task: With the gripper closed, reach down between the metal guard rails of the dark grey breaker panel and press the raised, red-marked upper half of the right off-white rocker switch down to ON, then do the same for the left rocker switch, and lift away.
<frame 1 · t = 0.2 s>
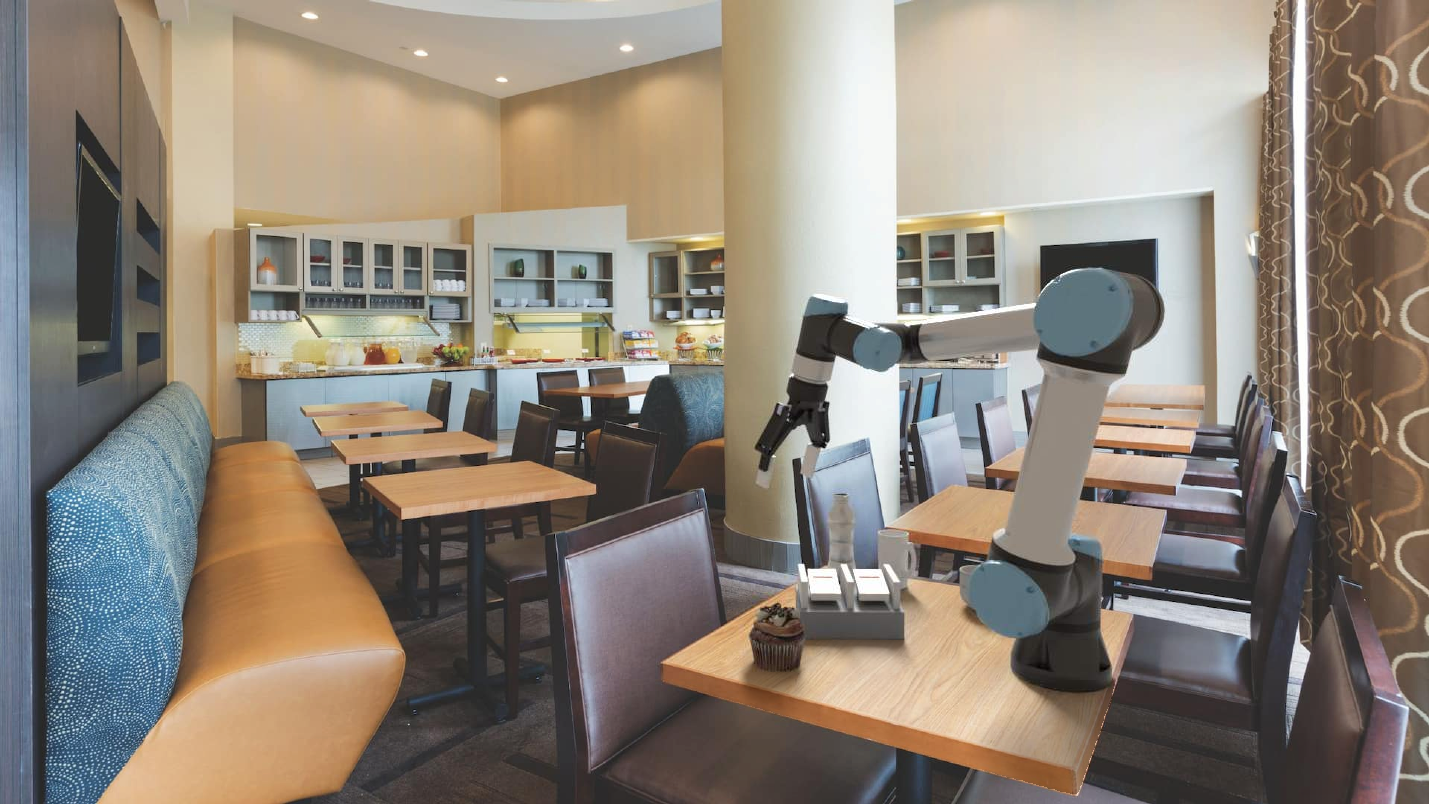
hand: (784, 480, 151), 28 cm above the table, tool tilted 20°, fingers open, 13 cm apart
plastic bottle: (841, 581, 178), on the table
cupcake: (777, 663, 132), on the table
teacup: (991, 611, 156), on the table
mug: (898, 588, 172), on the table
breaker panel: (846, 623, 150), on the table
breaker b: (823, 583, 150), point 8 cm above the table, hinge at -10.0°
breaker a: (870, 584, 149), point 8 cm above the table, hinge at -10.0°
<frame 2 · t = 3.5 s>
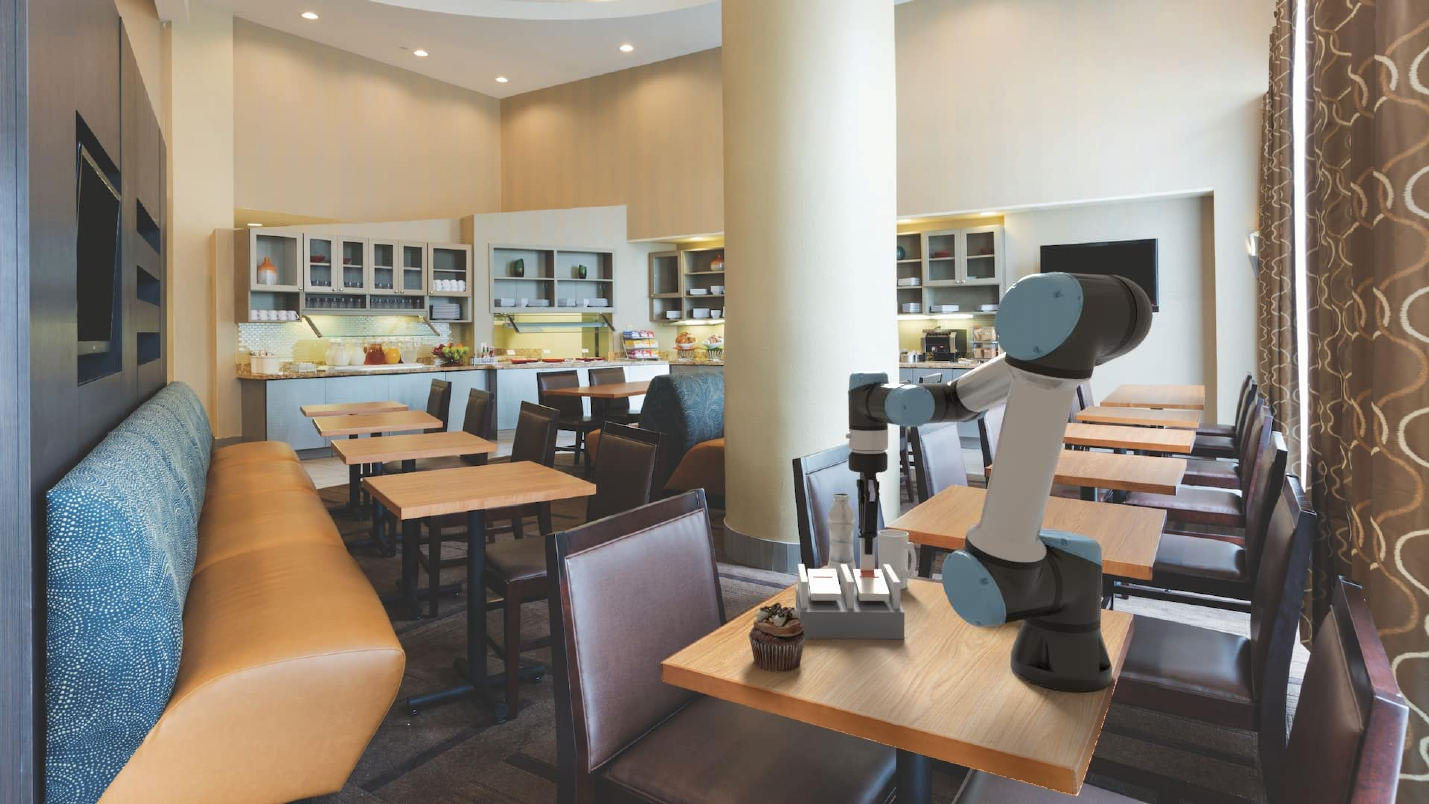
hand: (867, 569, 153), 10 cm above the table, tool pointing down, fingers closed
breaker a: (870, 584, 149), point 8 cm above the table, hinge at -10.0°, touching gripper
everything else where it was.
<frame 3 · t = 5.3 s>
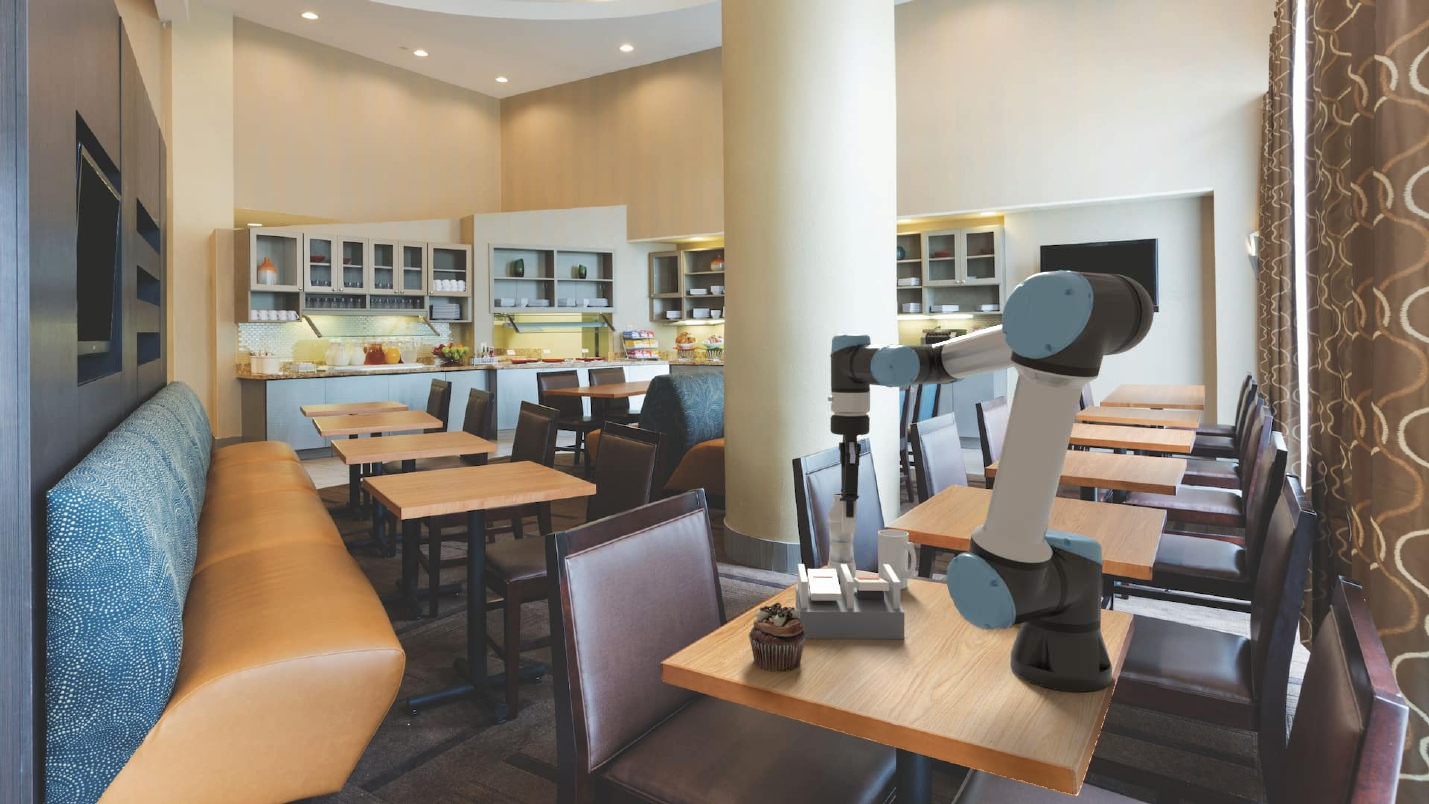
hand: (848, 532, 153), 17 cm above the table, tool pointing down, fingers closed
breaker a: (870, 583, 149), point 8 cm above the table, hinge at 12.1°
everything else where it was.
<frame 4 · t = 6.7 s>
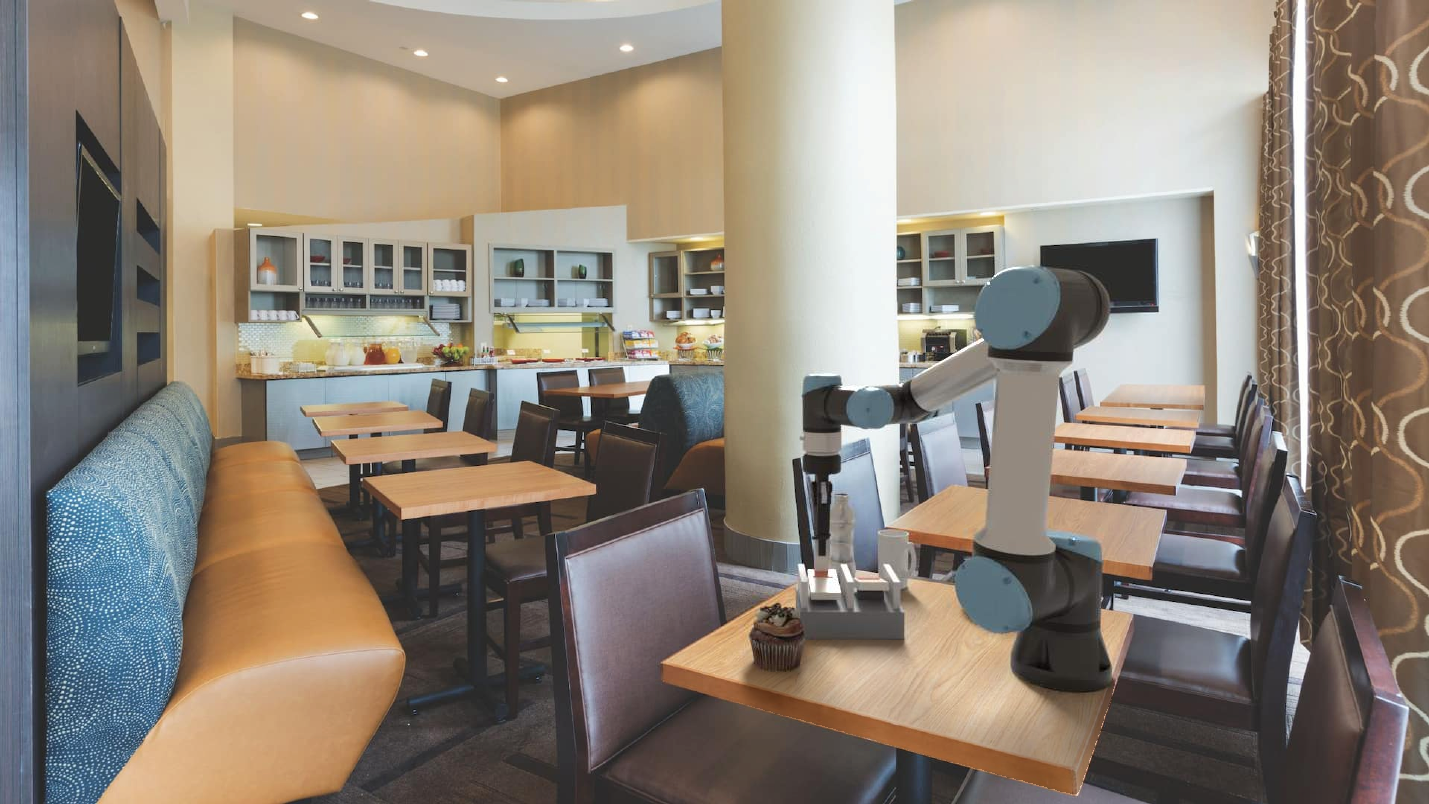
hand: (821, 570, 154), 9 cm above the table, tool pointing down, fingers closed
breaker b: (823, 583, 150), point 8 cm above the table, hinge at -8.4°, touching gripper
breaker a: (870, 583, 149), point 8 cm above the table, hinge at 12.5°
everything else where it was.
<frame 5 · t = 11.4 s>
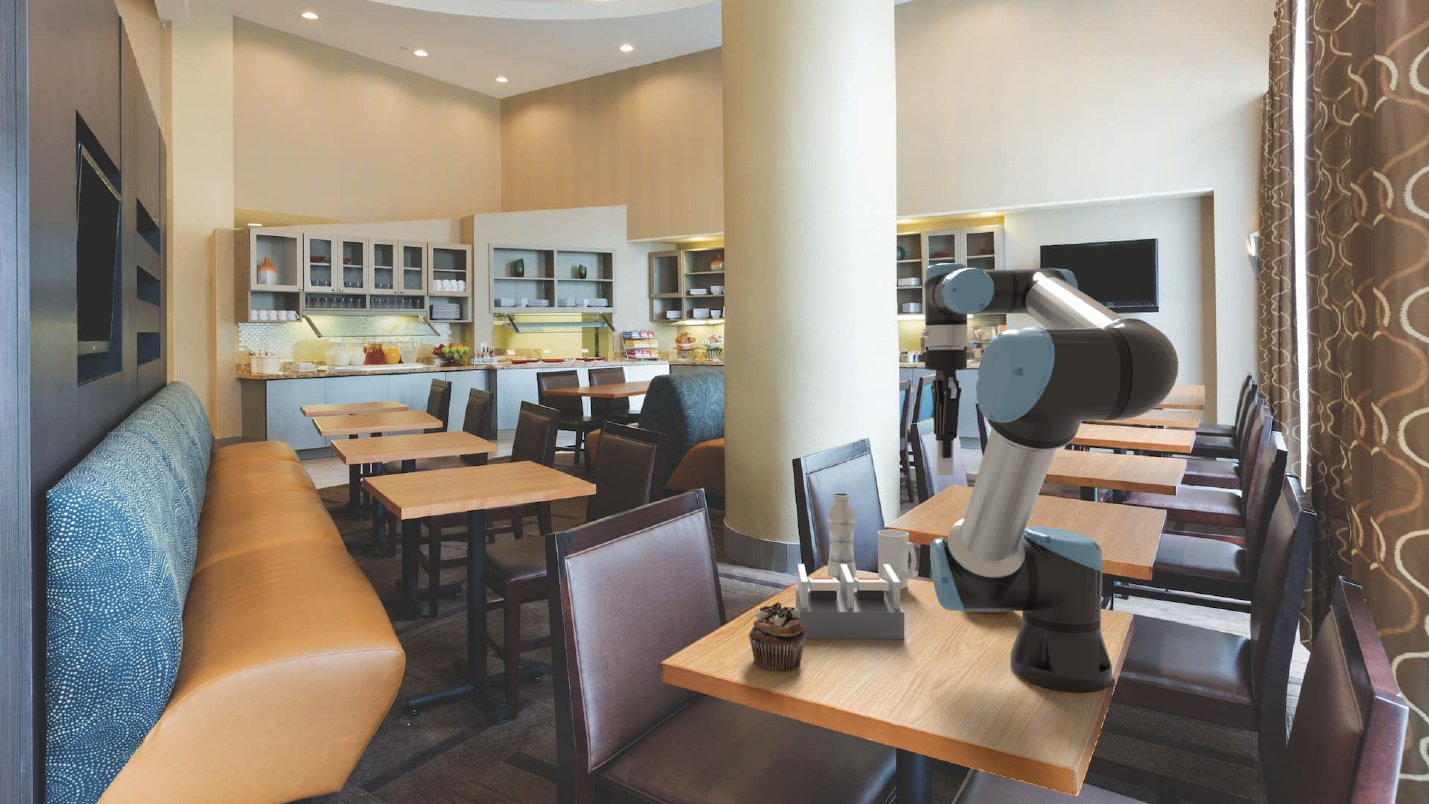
hand: (944, 474, 145), 29 cm above the table, tool pointing down, fingers closed
breaker b: (823, 583, 150), point 8 cm above the table, hinge at 11.4°
everything else where it was.
at the end: breaker a at +12° (first picture: -10°); breaker b at +11° (first picture: -10°) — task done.
